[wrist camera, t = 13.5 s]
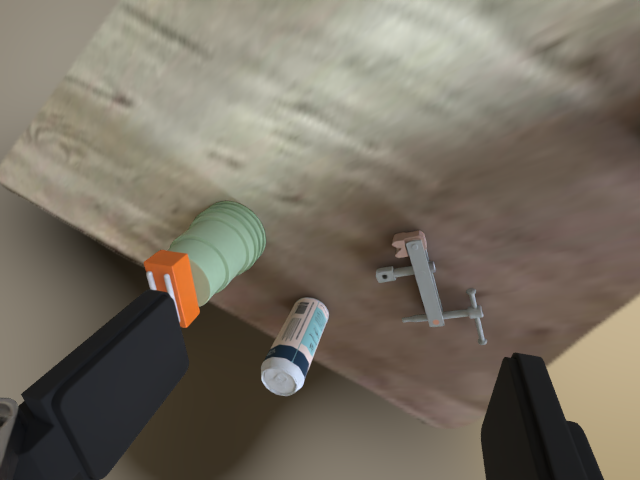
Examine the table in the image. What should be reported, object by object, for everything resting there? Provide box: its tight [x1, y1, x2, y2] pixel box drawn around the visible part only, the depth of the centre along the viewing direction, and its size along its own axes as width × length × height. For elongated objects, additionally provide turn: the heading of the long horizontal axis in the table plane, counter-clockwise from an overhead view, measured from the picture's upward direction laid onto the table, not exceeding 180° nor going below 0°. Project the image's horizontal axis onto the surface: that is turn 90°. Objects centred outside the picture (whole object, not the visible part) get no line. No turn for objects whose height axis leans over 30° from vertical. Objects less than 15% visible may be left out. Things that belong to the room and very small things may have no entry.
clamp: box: [376, 230, 487, 345], centre depth 39 cm, size 15×2×10 cm
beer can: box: [261, 297, 329, 396], centre depth 41 cm, size 5×5×12 cm
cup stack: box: [167, 201, 266, 307], centre depth 40 cm, size 9×9×11 cm
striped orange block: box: [144, 250, 200, 328], centre depth 34 cm, size 7×3×3 cm, turn 1°
